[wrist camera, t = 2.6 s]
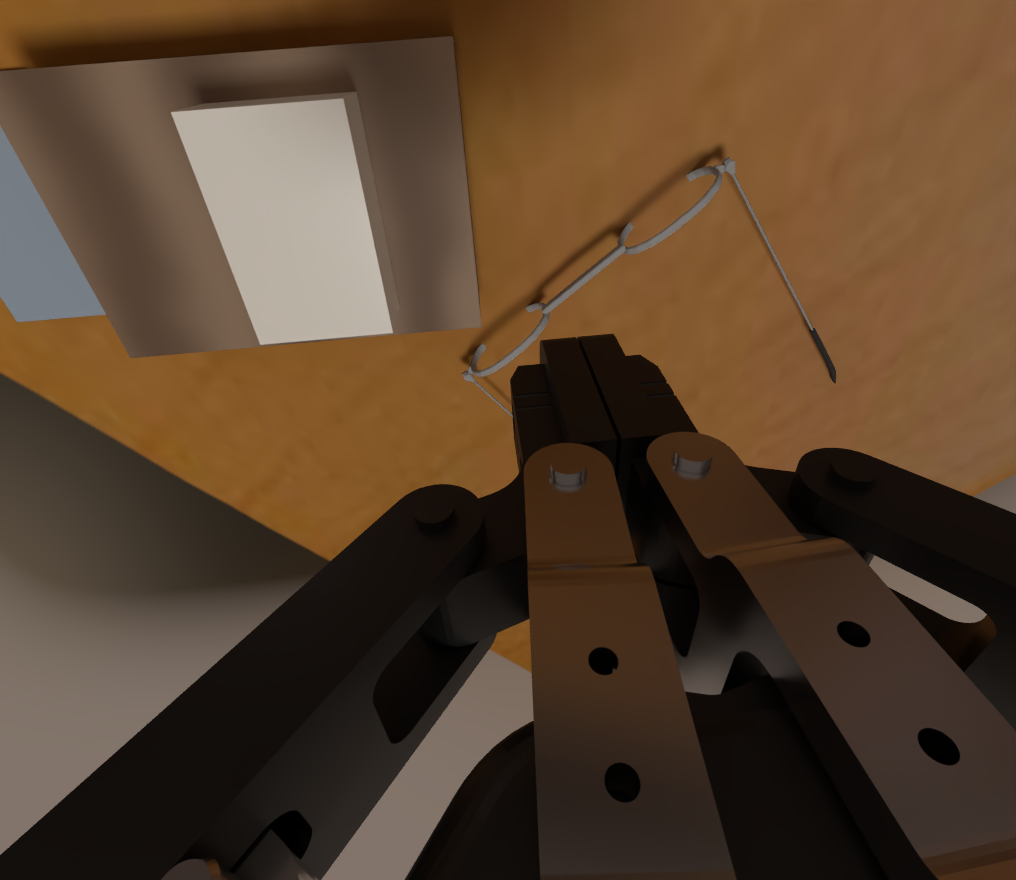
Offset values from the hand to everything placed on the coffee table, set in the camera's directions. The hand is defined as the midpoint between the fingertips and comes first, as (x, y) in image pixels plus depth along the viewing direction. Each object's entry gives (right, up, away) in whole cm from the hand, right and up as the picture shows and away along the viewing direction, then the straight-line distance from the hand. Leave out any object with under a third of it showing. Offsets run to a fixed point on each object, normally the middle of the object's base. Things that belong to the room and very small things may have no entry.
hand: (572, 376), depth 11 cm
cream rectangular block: (-10, +8, +11) cm, 17 cm away
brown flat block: (-12, +11, +15) cm, 23 cm away
